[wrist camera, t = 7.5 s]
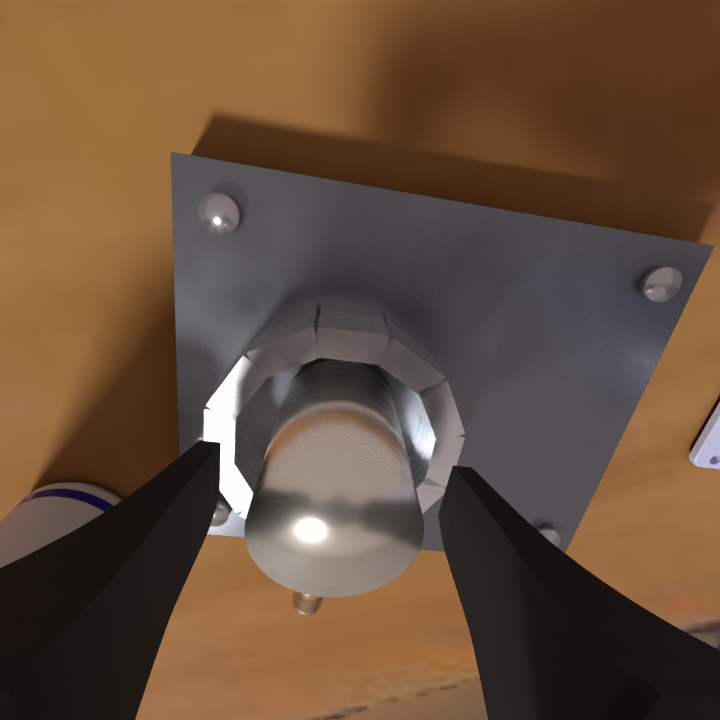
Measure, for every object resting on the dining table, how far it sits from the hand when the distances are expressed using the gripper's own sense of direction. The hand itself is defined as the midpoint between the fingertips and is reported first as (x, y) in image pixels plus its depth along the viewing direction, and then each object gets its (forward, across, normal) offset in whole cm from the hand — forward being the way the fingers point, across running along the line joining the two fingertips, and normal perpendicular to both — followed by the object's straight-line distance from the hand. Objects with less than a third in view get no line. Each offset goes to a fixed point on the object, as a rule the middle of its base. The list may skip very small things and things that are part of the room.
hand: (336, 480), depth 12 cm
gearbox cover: (+5, -3, -1) cm, 6 cm away
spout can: (+3, 0, 0) cm, 4 cm away
